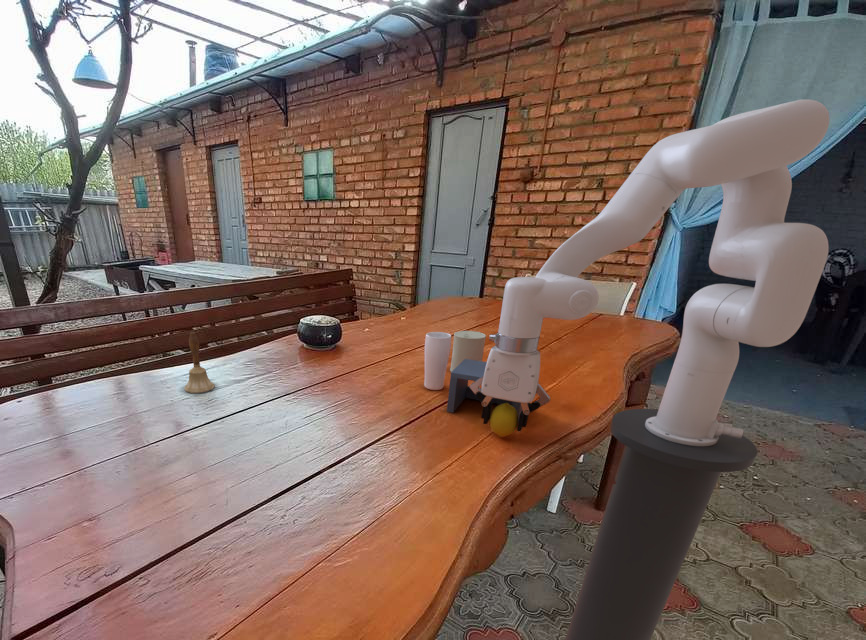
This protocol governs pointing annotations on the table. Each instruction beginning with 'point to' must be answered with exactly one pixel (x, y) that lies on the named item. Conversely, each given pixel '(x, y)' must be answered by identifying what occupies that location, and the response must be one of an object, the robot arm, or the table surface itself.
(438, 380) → the drinking glass
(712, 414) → the robot arm
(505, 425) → the lemon
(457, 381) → the shelf
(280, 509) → the table surface
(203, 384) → the hand bell
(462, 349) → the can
